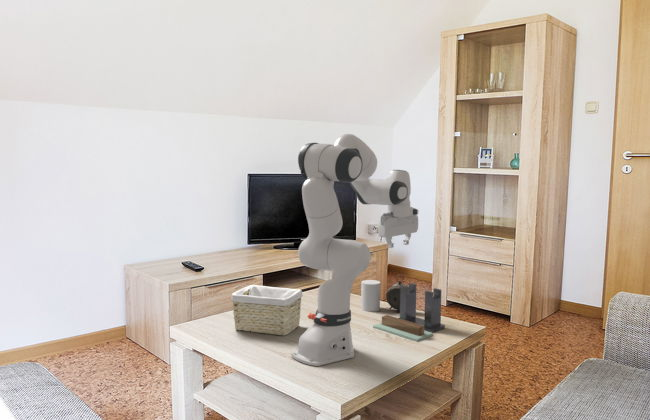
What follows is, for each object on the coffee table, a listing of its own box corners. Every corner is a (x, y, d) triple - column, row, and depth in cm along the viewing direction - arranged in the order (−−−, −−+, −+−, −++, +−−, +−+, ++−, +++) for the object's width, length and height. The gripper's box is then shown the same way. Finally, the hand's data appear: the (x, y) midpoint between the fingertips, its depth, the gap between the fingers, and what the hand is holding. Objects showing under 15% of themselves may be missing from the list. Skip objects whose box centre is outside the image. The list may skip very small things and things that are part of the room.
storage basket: (230, 330, 205) (229, 293, 203) (250, 318, 220) (250, 283, 218) (286, 338, 196) (286, 299, 195) (304, 325, 211) (303, 289, 210)
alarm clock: (413, 311, 230) (413, 274, 228) (409, 315, 225) (409, 277, 223) (388, 308, 234) (389, 272, 233) (384, 311, 230) (385, 274, 228)
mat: (416, 341, 193) (416, 339, 193) (373, 327, 208) (373, 325, 208) (432, 335, 200) (433, 333, 200) (389, 322, 215) (389, 320, 215)
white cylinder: (382, 308, 235) (383, 281, 233) (374, 312, 228) (374, 285, 227) (366, 305, 239) (366, 279, 238) (357, 309, 232) (358, 282, 231)
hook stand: (432, 332, 203) (433, 293, 201) (395, 321, 216) (396, 285, 214) (444, 328, 208) (445, 290, 206) (407, 317, 221) (408, 281, 219)
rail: (418, 336, 197) (419, 327, 196) (381, 324, 210) (381, 316, 209) (424, 334, 199) (424, 325, 199) (386, 322, 212) (387, 315, 212)
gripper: (387, 214, 199) (387, 250, 201) (421, 209, 213) (420, 244, 214) (374, 212, 204) (374, 248, 205) (408, 208, 217) (408, 241, 219)
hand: (398, 246), depth 210 cm, fingers open, 8 cm apart
